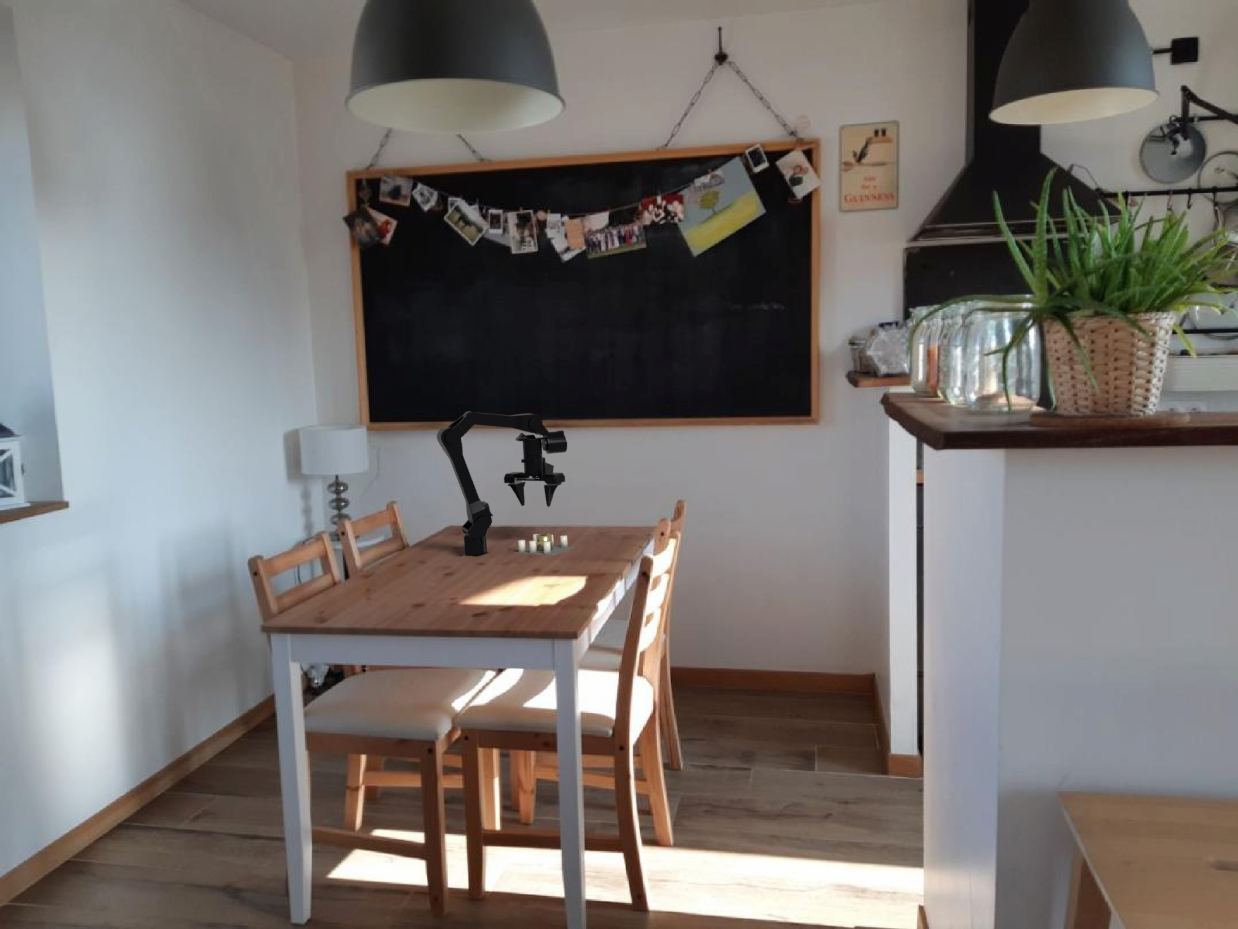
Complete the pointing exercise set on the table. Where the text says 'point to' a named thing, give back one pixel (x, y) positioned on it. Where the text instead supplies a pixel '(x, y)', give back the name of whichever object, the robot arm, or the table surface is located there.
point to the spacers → (546, 545)
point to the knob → (542, 538)
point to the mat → (553, 552)
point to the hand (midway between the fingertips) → (535, 506)
